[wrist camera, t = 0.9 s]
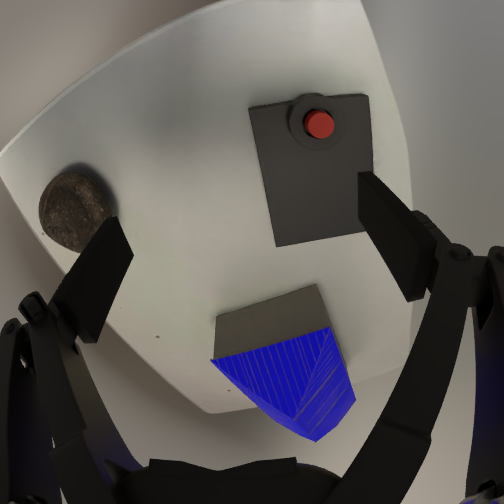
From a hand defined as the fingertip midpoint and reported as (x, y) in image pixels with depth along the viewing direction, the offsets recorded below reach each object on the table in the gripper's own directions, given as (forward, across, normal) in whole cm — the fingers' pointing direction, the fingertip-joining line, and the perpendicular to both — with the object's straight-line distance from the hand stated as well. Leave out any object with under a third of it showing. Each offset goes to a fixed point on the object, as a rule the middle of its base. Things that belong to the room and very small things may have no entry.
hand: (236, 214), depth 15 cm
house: (+17, +2, -35) cm, 39 cm away
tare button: (+13, +7, +1) cm, 15 cm away
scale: (+17, +8, -5) cm, 19 cm away
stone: (+17, -21, -3) cm, 27 cm away
